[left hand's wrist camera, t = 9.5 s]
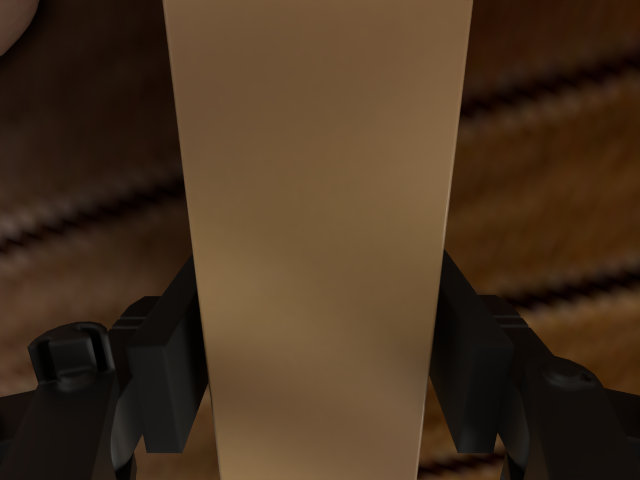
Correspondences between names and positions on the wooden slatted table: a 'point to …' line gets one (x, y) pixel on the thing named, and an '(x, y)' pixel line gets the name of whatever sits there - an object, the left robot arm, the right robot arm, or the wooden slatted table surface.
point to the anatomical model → (14, 20)
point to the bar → (318, 221)
